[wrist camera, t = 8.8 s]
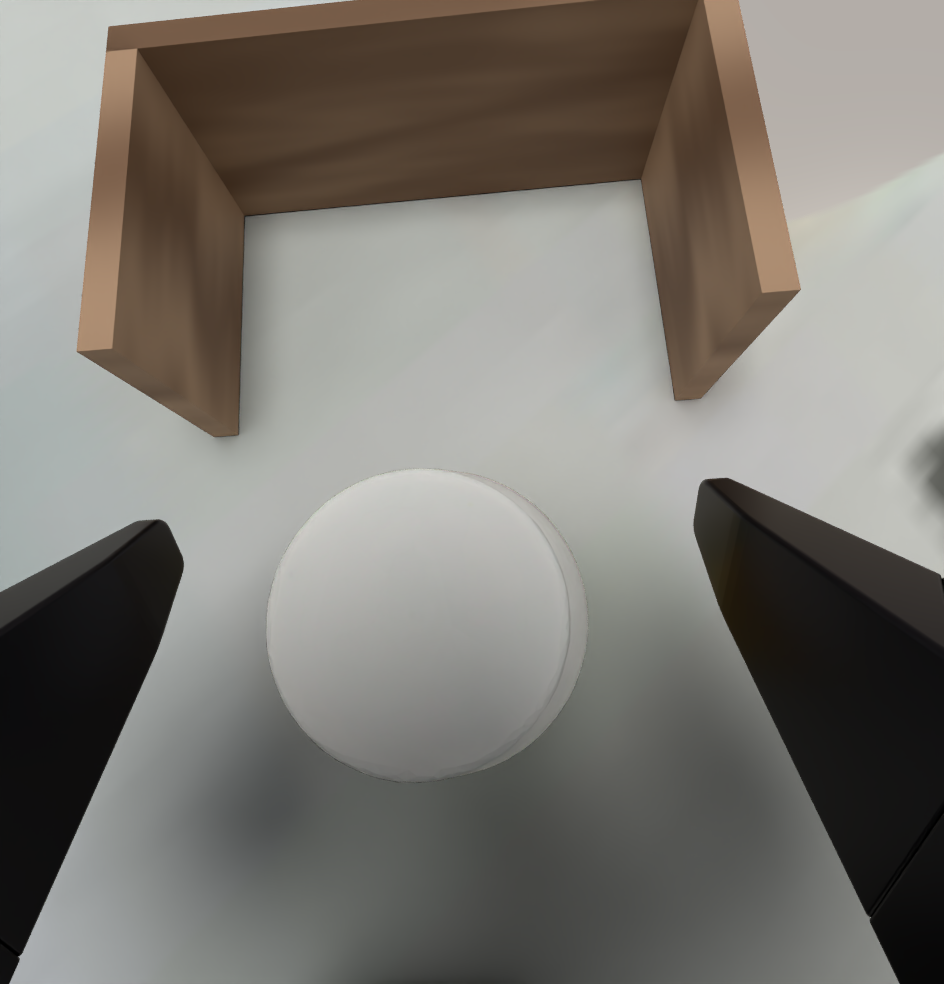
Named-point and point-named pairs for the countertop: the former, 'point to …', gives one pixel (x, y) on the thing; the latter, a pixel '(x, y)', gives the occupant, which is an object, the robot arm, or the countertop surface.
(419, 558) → the supplement bottle
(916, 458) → the countertop surface
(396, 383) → the countertop surface
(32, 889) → the robot arm
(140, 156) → the u-shaped walnut enclosure
